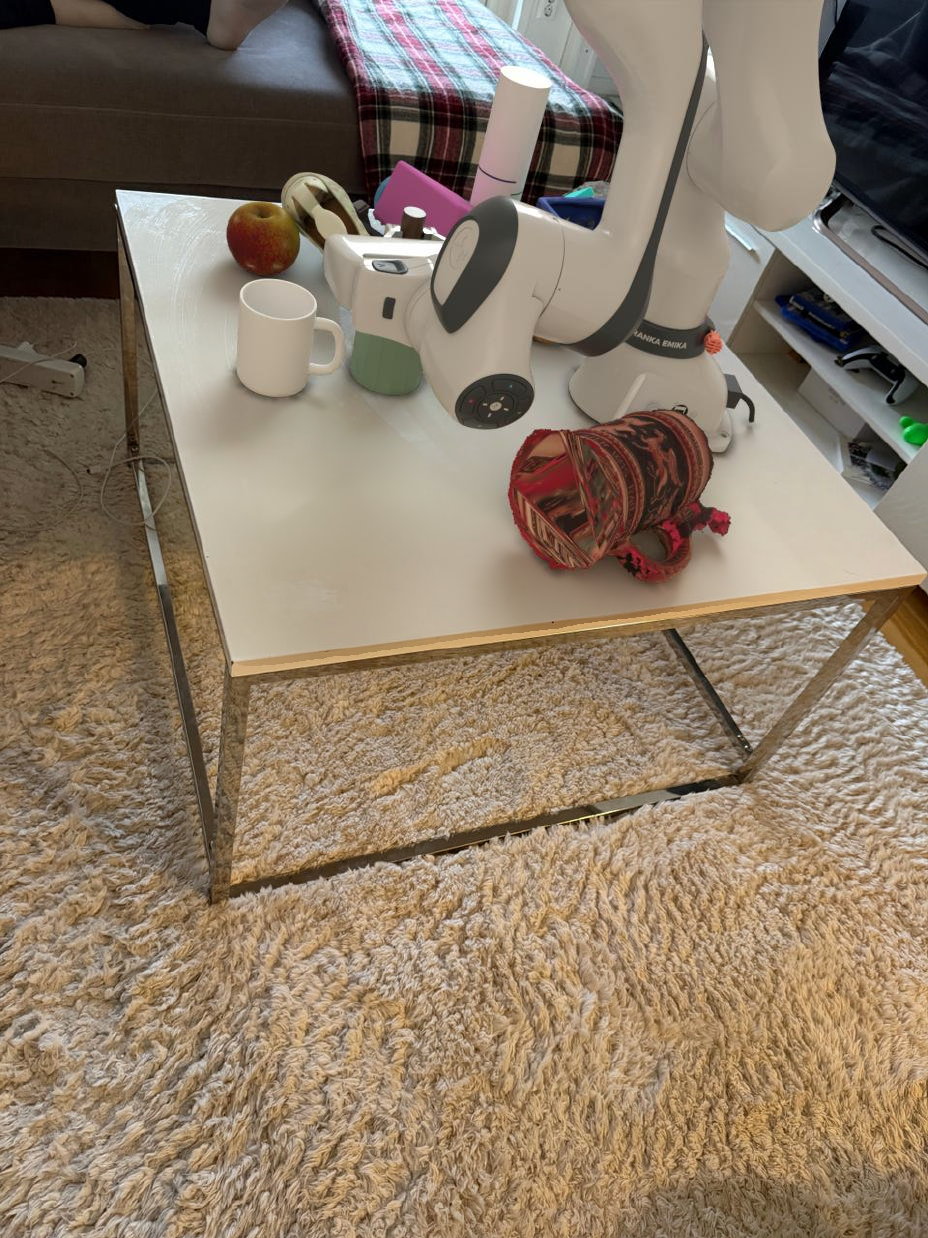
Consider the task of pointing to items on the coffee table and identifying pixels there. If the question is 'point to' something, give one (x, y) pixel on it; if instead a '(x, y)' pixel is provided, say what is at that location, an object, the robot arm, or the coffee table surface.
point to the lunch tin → (385, 365)
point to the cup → (280, 338)
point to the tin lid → (413, 223)
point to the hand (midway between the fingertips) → (407, 231)
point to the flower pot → (574, 209)
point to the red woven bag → (615, 492)
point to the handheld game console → (582, 193)
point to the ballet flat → (320, 208)
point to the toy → (418, 199)
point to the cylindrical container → (511, 134)
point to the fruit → (263, 238)
